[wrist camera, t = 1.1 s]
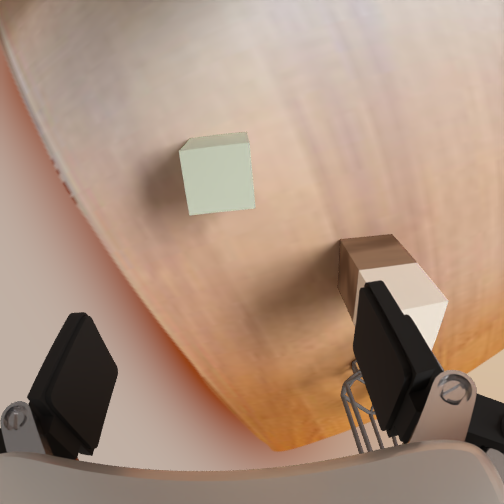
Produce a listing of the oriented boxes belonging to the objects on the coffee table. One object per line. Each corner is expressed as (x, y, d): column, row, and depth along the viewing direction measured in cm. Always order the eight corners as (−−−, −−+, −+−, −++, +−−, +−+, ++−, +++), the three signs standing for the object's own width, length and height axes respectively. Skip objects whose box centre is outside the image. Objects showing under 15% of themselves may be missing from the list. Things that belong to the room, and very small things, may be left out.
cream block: (358, 270, 27) (383, 313, 22) (416, 262, 27) (448, 300, 22) (352, 321, 30) (371, 366, 25) (406, 312, 30) (430, 352, 25)
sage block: (190, 138, 27) (178, 151, 22) (246, 131, 27) (249, 142, 22) (197, 190, 29) (189, 215, 24) (251, 184, 29) (255, 208, 24)
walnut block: (340, 239, 32) (358, 270, 27) (392, 234, 32) (417, 262, 27) (337, 287, 35) (352, 321, 30) (385, 280, 35) (406, 312, 30)
